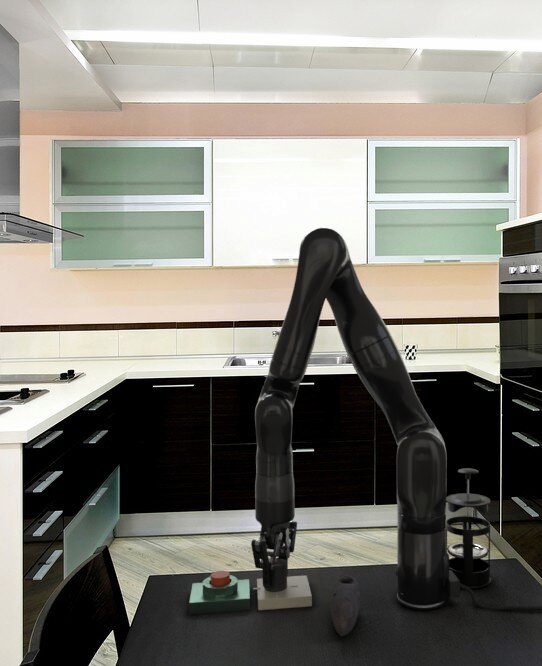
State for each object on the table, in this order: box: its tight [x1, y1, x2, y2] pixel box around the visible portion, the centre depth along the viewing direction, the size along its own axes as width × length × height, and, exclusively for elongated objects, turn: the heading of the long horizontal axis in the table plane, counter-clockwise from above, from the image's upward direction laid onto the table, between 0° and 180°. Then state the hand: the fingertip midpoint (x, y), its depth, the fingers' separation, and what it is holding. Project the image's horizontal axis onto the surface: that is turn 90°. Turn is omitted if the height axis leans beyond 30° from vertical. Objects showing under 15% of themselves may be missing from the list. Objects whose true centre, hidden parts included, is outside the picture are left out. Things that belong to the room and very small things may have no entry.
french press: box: [446, 467, 492, 591], centre depth 139 cm, size 12×9×23 cm
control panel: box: [252, 574, 313, 611], centre depth 131 cm, size 11×10×2 cm
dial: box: [264, 557, 288, 592], centre depth 131 cm, size 4×4×5 cm
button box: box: [188, 574, 251, 615], centre depth 129 cm, size 11×9×4 cm
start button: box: [210, 570, 231, 586], centre depth 129 cm, size 4×4×2 cm
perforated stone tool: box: [330, 570, 361, 637], centre depth 120 cm, size 15×5×7 cm, turn 175°
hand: (275, 581), depth 131 cm, fingers closed on dial, 4 cm apart
